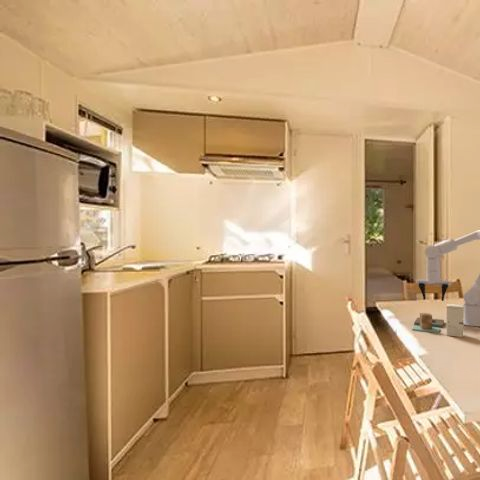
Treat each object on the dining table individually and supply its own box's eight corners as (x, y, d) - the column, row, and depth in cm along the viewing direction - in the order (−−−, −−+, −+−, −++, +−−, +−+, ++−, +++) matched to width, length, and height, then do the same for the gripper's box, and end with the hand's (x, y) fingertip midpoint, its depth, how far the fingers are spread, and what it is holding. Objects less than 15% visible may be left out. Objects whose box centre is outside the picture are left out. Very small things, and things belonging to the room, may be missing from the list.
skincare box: (446, 335, 154) (445, 305, 153) (446, 333, 158) (446, 303, 157) (464, 337, 151) (463, 306, 150) (463, 334, 154) (463, 304, 154)
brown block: (430, 327, 165) (429, 313, 165) (432, 329, 161) (432, 315, 161) (419, 326, 166) (419, 313, 166) (421, 329, 162) (421, 315, 162)
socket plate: (443, 322, 175) (443, 319, 175) (441, 327, 166) (441, 325, 166) (417, 319, 181) (417, 317, 181) (414, 325, 172) (414, 322, 172)
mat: (440, 329, 164) (440, 327, 164) (438, 333, 158) (438, 331, 158) (414, 326, 169) (414, 325, 169) (412, 330, 163) (412, 328, 163)
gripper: (451, 270, 180) (451, 299, 180) (417, 269, 187) (417, 297, 188) (450, 272, 174) (450, 302, 174) (415, 271, 181) (415, 299, 182)
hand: (433, 299), depth 180 cm, fingers open, 7 cm apart
